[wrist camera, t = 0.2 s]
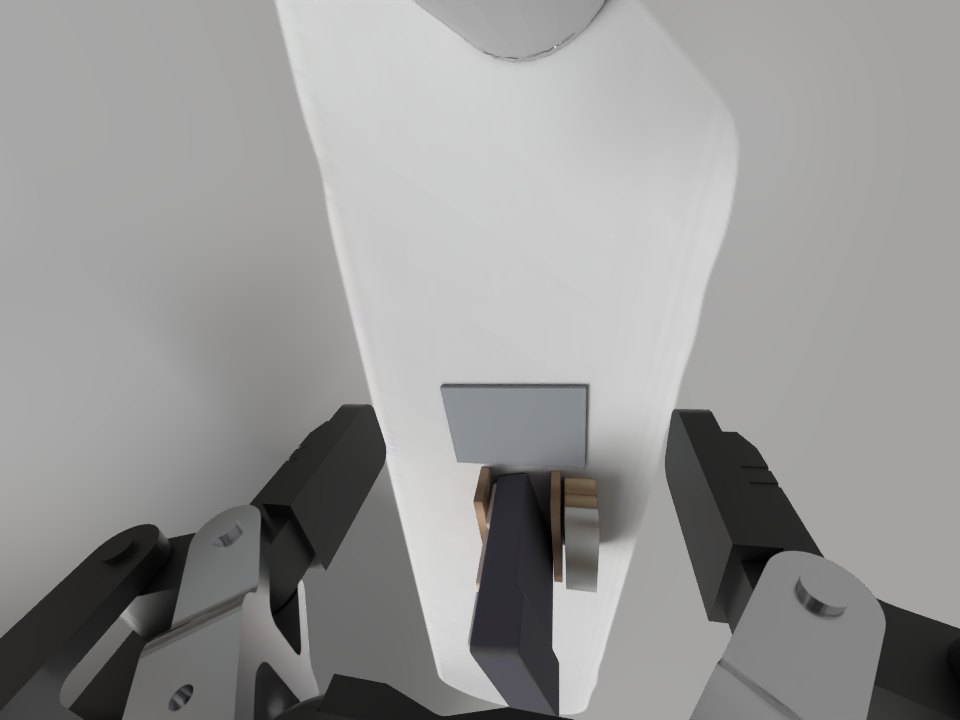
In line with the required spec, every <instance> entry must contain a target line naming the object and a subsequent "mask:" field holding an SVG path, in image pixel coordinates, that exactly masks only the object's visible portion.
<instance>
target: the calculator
mask: <svg viewBox="0 0 960 720" xmlns="http://www.w3.org/2000/svg"><path fill="white" fill-rule="evenodd" d="M487 527H488V529H489V531H486V532H485V534H484V539H483V545H482V551H481V557H480V562H479V568H478V574H477V579H476V586H477V588H478V590H479V592H477V594H476V598H475V604H474V610H473V616H472V622H471V627H470V633H469V639H468V648H469V649H470V653H471V655H472V656H473V658H474V659H475V660H476V662H477V663H478V664H479V666H480V667H481V668H482V670H483V671H484V673H485V674H486V675H487V677H488V678H489V679H490V681H491V682H492V683H493V685H494V686H495V687H496V689H497V690H498V692H499V693H500V694H501V696H502V697H503V698H504V700H505V701H506V702H507V704H508V705H509V706H510V708H516V709H521V710H526V711H531V712H536V713H542V714H547V715H552V716H557V717H558V716H559V662H558V659H557V657H556V655H555V653H554V652H553V649H552V617H553V546H552V536H551V533H550V531H549V528H548V526H547V523H546V521H545V518H544V516H543V513H542V511H541V508H540V506H539V503H538V501H537V498H536V496H535V493H534V491H533V488H532V486H531V483H530V481H529V478H528V476H527V474H516V475H506V476H499V477H498V479H497V483H495V484H493V488H492V494H491V500H490V505H489V511H488V517H487Z"/></svg>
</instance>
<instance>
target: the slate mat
mask: <svg viewBox="0 0 960 720" xmlns="http://www.w3.org/2000/svg"><path fill="white" fill-rule="evenodd" d="M440 389H441V393H442V398H443V402H444V406H445V411H446V415H447V419H448V424H449V428H450V432H451V437H452V441H453V445H454V450H455V454H456V458H457V462H463V463H483V464H504V465H525V466H545V467H566V468H585V429H586V385H441V387H440Z"/></svg>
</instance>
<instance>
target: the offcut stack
mask: <svg viewBox="0 0 960 720" xmlns="http://www.w3.org/2000/svg"><path fill="white" fill-rule="evenodd" d="M599 537H600V523H599V512H598V507H597V492H596V480H595V479H579V478H565V553H566V589H571V590H579V591H588V592H597V574H598V555H599Z"/></svg>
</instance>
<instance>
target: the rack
mask: <svg viewBox="0 0 960 720" xmlns="http://www.w3.org/2000/svg"><path fill="white" fill-rule="evenodd" d="M492 488H493V486H492V480H491V474H490V468H485V467H481V471H480V476H479V480H478V484H477V489H476V493H475V497H474V506H475V511H476V515H477V520H478V525H479V529H480V534H481V539H482V543H483V539H484V534H485V532H486V531H489V529H488V527H487V517H488V511H489V505H490V500H491V494H492ZM550 509H551V528H552V546H553V564H554V581H556V582H562V570H563V543H562V511H561V479H560V471H552V474H551V504H550Z"/></svg>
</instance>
